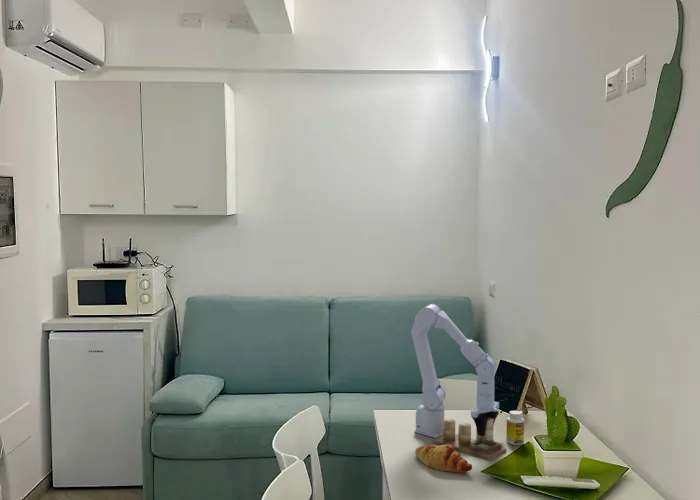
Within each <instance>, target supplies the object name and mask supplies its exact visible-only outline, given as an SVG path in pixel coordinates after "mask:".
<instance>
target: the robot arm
mask: <svg viewBox="0 0 700 500" xmlns="http://www.w3.org/2000/svg"><path fill="white" fill-rule="evenodd" d="M433 325H434V326H433ZM432 326H433V327H434V328H435V329H441V330H443V331H445V332H446V333H447V334H448V335H449V336H450V337H451V339H452V340H454V341H455V342H456V344H458V345H459V349H460V350H459V351H460V353H461V354H462V355H463V356H464V357H465V358H466V360H468V362H469V363H470V364H471V365H472V366H474V367H475V372H476V374H477V379H476V405H475V407H473V409H472V410H471V411H470V417H471V419H472V420H473V422H474V424H475V427H476V428H475V429H476V431H477V432H478V435H480V436H484V435H485V430H486V424H487V421H488V418H493V419H494V421H493V426H494V425H495V421H496V419H497V418H498V416H499V414H500V412H499V411H498V409H500V402H499V401H495V370H496V366H497V365H496V362H495V360H494V358H493V357H492V356H490V355H489V354H488V353H487V352H485V351H484V350H483V349H482V348H481V347H480V346H479V345H480V343H479V342H478V341H475V340H474V339H468V338H467V337H466V336H465V335H464V333H463V332H462V331H461V330H460V328H458V326H457V325H456V324H455V323H454V321H452V319H451V318H450V317H449V316H448V315H447V313H446V312H445V311H444V310H442V309H441V308H440V306H438V305H437V304H434V303H430V304H427V305H426V306H425V307H423V308H421V309H420V310H419V311H418V312H417V314H416V315H415V318H414V322H413V324H412V328H411V329H410V330H411V337H412V342H413V346H414V351H415V354H416V359H417V363H418V368H419V370H420V371H419V372H420V376H421V380H422V388H421V391H422V397H421V402H422V404H419V406H418V407H417V409H416V410H415V429H414V433H416V434H417V433H418V434H420V435H422V436H423V435H425V436H427V437H430V438H434V439H435V438H438V437H440V436H442V435H443V420H444V419H445V405H444V403H443V401H444V400H445V399H446V390H445V389H444V388H443V387H442V385H441V381H440V379H439V378H438V377H437V371H436V368H435V364H434V359H433V355H432V351H431V347H430V342H429V339H428V335H427V334H428V332H429V330H430V329H431V328H432Z"/></svg>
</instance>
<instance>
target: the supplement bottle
mask: <svg viewBox="0 0 700 500" xmlns="http://www.w3.org/2000/svg"><path fill="white" fill-rule="evenodd" d="M508 414H509V415H508V417H507V418H506V435H505V436H506V438H505V439H506V443H507V444H510V445H512V446H520V445H523V444H524V440H525V439H524V438H525V436H524V435H525V419H524V418H523V413H522V412H521V411H519V410H510V411H509V413H508Z"/></svg>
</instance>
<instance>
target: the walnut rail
mask: <svg viewBox="0 0 700 500" xmlns="http://www.w3.org/2000/svg"><path fill="white" fill-rule="evenodd" d="M457 433H458V434H457ZM457 433H456V420H455V419H453V418H444V420H443V435H442V436H440V437H438V438H434V439H432V440H431V443H432V444H433V445H436V446H440V445H451V446H453V447H454V449H455V451H457V452H459V453H465V454H468V455H470V456H474V457H477V458H481V459H484V460H488V461H491V460H493V459H494V458H496V457H498V456H500V455H502V454H504V453H506V452H507V448H506V447H503V446H502V443H499V442H496V441H492V440H490V441H489V440H485V439H482V438H480V439H478V440H477V439H473V438H472V424H471V423H469V422H459V423H458V432H457Z"/></svg>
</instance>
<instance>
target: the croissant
mask: <svg viewBox="0 0 700 500" xmlns="http://www.w3.org/2000/svg"><path fill="white" fill-rule="evenodd" d="M414 452H415V455H416V456H417V458H418V460H419V461H421V462H422V464H423V465H425V466H427V468H432V469H435V470H437V471H442V472H451V473H457V474H458V473H459V474H464V473H467V472H470V471H472V469H473V464H471V463H468V461H467V459H465V458H464V457H462V455H461V452H460V451H457V450H455V449H454V447H453V446H451V445H436V444H433V445H432V444H431V445H428V446H420V447H416V448H415V451H414Z"/></svg>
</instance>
